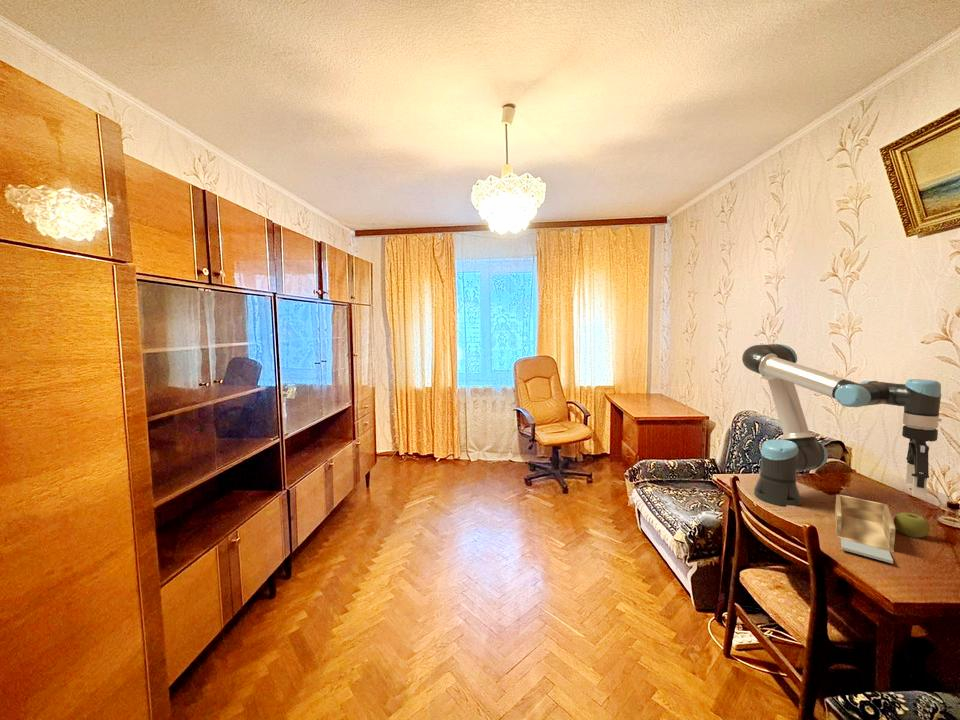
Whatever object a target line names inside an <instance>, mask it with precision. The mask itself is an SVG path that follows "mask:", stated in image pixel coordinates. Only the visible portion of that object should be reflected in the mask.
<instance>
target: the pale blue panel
mask: <svg viewBox="0 0 960 720" xmlns="http://www.w3.org/2000/svg"><path fill="white" fill-rule="evenodd" d="M840 544H841V547H840V548H841V550H843V551H846V552H848V553H849V552H850V553H853V554H857V555H860V556H864V557H867V558H871V559H875V560H878V561H883V562H885V563H889V564H892V565H893V564H894V559H893V557H892V554H891V552H890V551H887V550H883V549H879V548H876V547H872V546H868V545H864V544H861V543H857V542H853V541H849V540H845V539H842V538H841V539H840Z"/></svg>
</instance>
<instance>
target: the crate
mask: <svg viewBox="0 0 960 720" xmlns="http://www.w3.org/2000/svg"><path fill="white" fill-rule="evenodd" d="M888 505H889V504H886V503H882V502H878V501H872V500H866V499H862V498H858V497H853V496H848V495H842V494H837V493H836V494H835V508H834V509H835V510H834V516H835V519H834V521H835V522H834V523H835V538H837V539H840V540H841V538H842V539H845V540H849V541H853V542H857V543H861V544H864V545H868V546H872V547H876V548H879V549H883V550H887V551H889V552H890V553H895V538H896V527H895V524H894V519H893V517H892V514H891V511H890V508H889V506H888Z"/></svg>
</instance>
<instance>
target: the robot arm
mask: <svg viewBox="0 0 960 720" xmlns="http://www.w3.org/2000/svg"><path fill="white" fill-rule="evenodd" d="M741 357H742V359H741V360H742V363H743V366H744V367H745V368H746V369H748V370H749V371H751V372H754V373H756V374H759V375H761V377H762V378H764V379H765V380H767V383H768V385H769V390H770V392H771V396H772V400H773V402H774V403H773V404H774V406H775V410H776V414H777V417H778V419H779V424H780V428H781V430H782V433H783V434H782V435H781V437H780V439H773V438H772V439H767V440H765V441H763V443H762V444H761V449H760V469H759V478H758V479H757V482H756V484H755V486H754V488H753V495H754V496H755V498H758V499H759V500H761V501H764V502H766V503H769V504H773V505H777V506H783V507H787V506H794V507H798V506H799V505H801V502H802V499H801V498H802V496H801V494H800V491H799V488H798V485H797V473H799V472H804V471H812V470H816V469H819V468H822V467H823V466H824V465H825V464H826V463H827V462H828V459H829V457H828V456H829V453H828V450H827V448H826V446H824V444H822V443H821V442H820V441H818V440H817V438H816V435H815V434H813V433H811V432H810V430H809V427H808V424H807V421H806V417H805V414H804V411H803V407H802V404H801V401H800V398H799V395H798V391H797V389H796V386H799V387H802V388H805V389H808V390H810V391H812V392H815V393H818V394H821V395H824V396H826V397H830V398H832V399H834V400H836V401H837V402H838V403H839V405H841V406H843V407H847V408H860V407H866V406H868V407H869V406H875V405H876V406H877V405H889V406H895V407H897V406H898V407H903V415H902V416H903V417H902V424H903V426H902V432H901V433H902V434H901V435H902V437H903V438H905V439H908V440H909V442H908V449H907V455H906V457H905V458H906V459H905V460H906V462H907V464H906V474H905V475H906V476H905V483H906V484H912V492H911V493H912V494H911V495H912V497H915V498H916V497H918V498H923V499H926V498H927V497H926V495H927V485H928V479H929V478H930V473H929V472H930V471H929V468H930V466H929V452H930V451H929V450H930V447H929V446H928V444H927V442H932V443H933V442H936V441H938V433H939V430H938V429H937V428H939V423H940V422H942V418H940V417H939V416H940V410H941V409H940V408H941V400H942V399H941V398H942V397H943V396H942V384H941V382H939V381H937V380H933V379H922V378H921V379H919V378H910V379H907V380H906V382H905V383H895V382H893V383H892V382H885V381H884V382H883V381H878V380H863V381H861V383H858V382H855V381H852V380H848V379H846V378H843V377H839V376H836V375H833V374H831V373H827V372H824V371H820V370H817V369H814V368H811V367H808V366H805V365H802V364H799V363H797V362H798V355H797V353H796V351H795V350H794V349H793V348H792V347H791V346H788V345H785V344H780V343H771V344H755V345H751V346H749V347H748V348H746V349H745V351H744V352H743V354H742V356H741Z"/></svg>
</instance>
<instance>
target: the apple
mask: <svg viewBox="0 0 960 720" xmlns="http://www.w3.org/2000/svg"><path fill="white" fill-rule="evenodd" d="M893 523H894V526H895V529H896V530H897V531H898V532H899V533H900V534H902V535H905V536H908V537H912V538H916V539H923V538H924V537H927V536H928V534H929V533H930V531H931V525H930V522H929V521H928V520H927V519H926V518H925V517H924V516H921V515H919V514H916V513H911V512H899V513H897V514H895V516H894V518H893Z"/></svg>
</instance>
